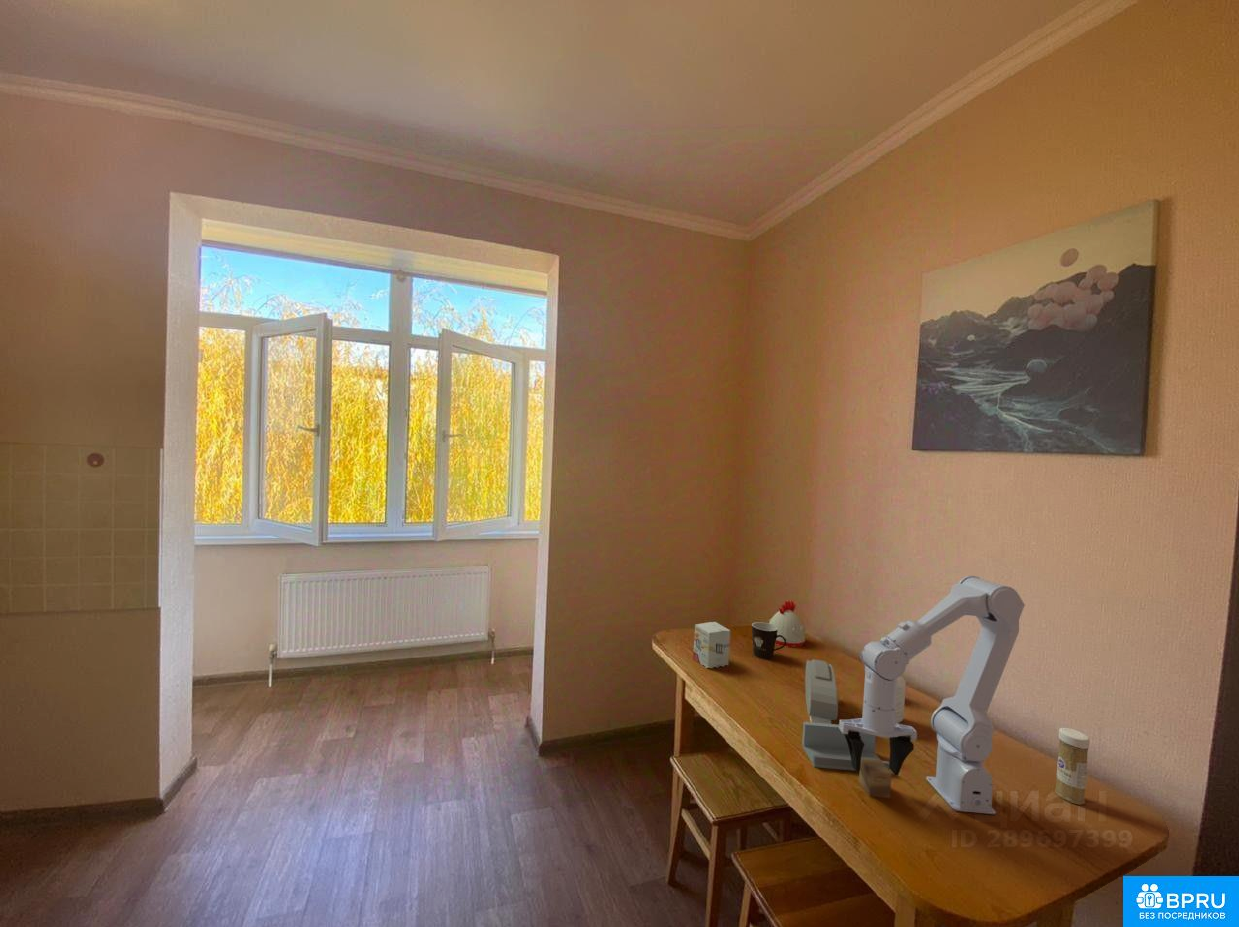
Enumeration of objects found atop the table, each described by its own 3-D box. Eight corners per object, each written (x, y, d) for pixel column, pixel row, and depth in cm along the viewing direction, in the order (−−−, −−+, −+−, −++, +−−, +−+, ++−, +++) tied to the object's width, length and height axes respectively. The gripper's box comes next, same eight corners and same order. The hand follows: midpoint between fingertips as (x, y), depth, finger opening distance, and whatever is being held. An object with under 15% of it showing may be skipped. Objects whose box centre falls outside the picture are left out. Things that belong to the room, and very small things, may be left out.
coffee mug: (745, 651, 165) (747, 622, 165) (766, 649, 168) (768, 621, 168) (765, 665, 154) (766, 634, 154) (787, 663, 157) (788, 633, 157)
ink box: (692, 658, 156) (694, 623, 156) (713, 655, 160) (715, 620, 160) (707, 669, 148) (709, 632, 148) (729, 666, 152) (731, 629, 152)
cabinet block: (890, 799, 93) (892, 774, 93) (869, 797, 93) (871, 772, 93) (878, 783, 98) (880, 759, 98) (858, 781, 98) (860, 757, 98)
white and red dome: (812, 644, 176) (815, 604, 176) (787, 650, 169) (790, 608, 169) (782, 631, 188) (785, 594, 188) (758, 636, 181) (760, 597, 181)
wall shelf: (889, 773, 101) (891, 747, 101) (814, 766, 102) (815, 741, 102) (872, 751, 109) (873, 727, 109) (802, 745, 110) (803, 721, 110)
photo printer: (889, 713, 128) (892, 667, 128) (906, 720, 124) (908, 674, 124) (868, 722, 122) (871, 675, 122) (885, 731, 118) (888, 682, 118)
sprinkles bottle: (1049, 790, 99) (1052, 726, 99) (1068, 790, 99) (1072, 726, 99) (1072, 806, 94) (1076, 739, 94) (1092, 805, 95) (1096, 739, 95)
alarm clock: (836, 738, 114) (839, 685, 114) (809, 732, 116) (812, 680, 116) (827, 695, 136) (829, 651, 136) (804, 690, 138) (806, 647, 138)
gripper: (904, 697, 99) (900, 761, 99) (834, 691, 100) (830, 754, 100) (924, 714, 92) (920, 783, 92) (849, 708, 93) (844, 776, 93)
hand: (874, 770), depth 96 cm, fingers open, 7 cm apart
